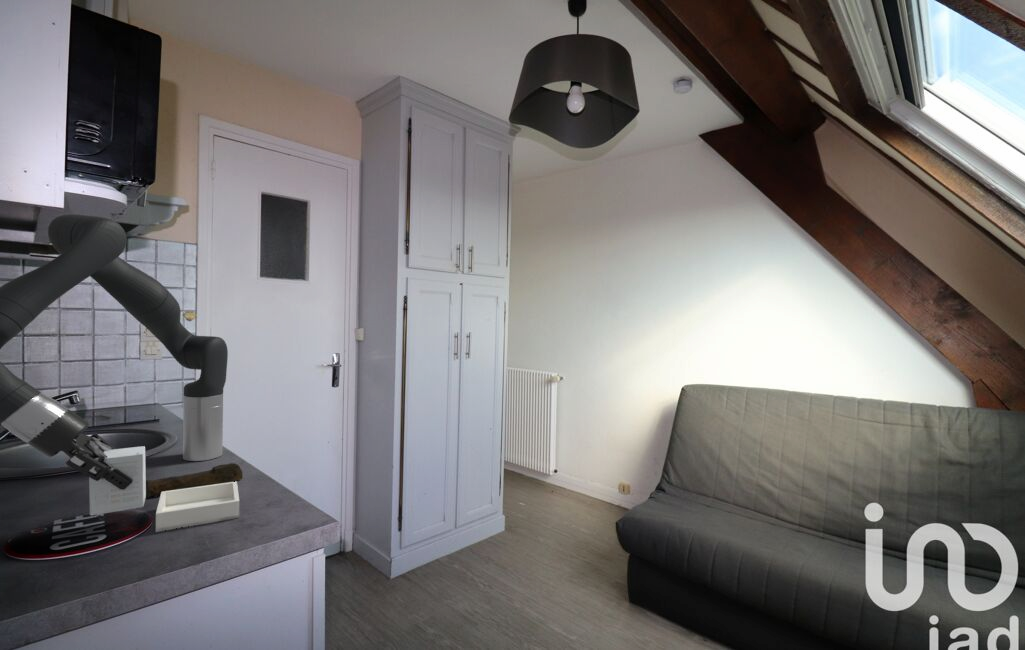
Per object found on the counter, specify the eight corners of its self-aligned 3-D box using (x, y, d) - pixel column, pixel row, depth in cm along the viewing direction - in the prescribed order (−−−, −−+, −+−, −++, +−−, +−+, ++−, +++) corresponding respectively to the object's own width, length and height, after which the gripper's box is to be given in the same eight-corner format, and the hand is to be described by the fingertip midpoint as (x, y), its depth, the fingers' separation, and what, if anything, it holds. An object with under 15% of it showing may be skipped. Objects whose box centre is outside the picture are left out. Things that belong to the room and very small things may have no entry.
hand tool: (144, 501, 105) (144, 480, 105) (144, 495, 108) (144, 474, 108) (244, 484, 116) (244, 465, 116) (240, 479, 120) (241, 460, 119)
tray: (161, 508, 101) (161, 491, 101) (236, 496, 108) (236, 481, 108) (155, 532, 91) (155, 513, 91) (239, 517, 98) (239, 500, 98)
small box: (146, 497, 97) (146, 445, 97) (143, 507, 93) (144, 453, 92) (93, 504, 93) (93, 450, 93) (88, 516, 88) (88, 459, 88)
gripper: (55, 417, 82) (143, 476, 89) (75, 400, 94) (152, 453, 101) (11, 452, 79) (106, 510, 86) (38, 430, 92) (119, 482, 99)
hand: (130, 479), depth 94 cm, fingers closed on small box, 5 cm apart
